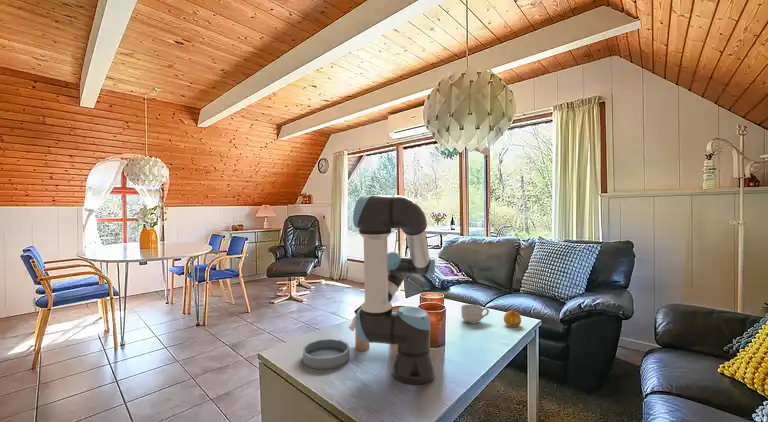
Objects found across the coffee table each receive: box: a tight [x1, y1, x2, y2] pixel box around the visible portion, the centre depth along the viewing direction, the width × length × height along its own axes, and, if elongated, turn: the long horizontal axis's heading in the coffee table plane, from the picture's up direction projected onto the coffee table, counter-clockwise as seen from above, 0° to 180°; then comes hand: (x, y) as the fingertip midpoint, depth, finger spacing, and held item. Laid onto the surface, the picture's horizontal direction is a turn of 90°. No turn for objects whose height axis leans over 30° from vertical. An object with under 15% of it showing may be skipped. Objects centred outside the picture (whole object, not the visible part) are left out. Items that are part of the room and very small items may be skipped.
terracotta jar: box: [354, 319, 370, 352], centre depth 148 cm, size 7×7×12 cm
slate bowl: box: [302, 338, 351, 370], centre depth 138 cm, size 18×18×4 cm
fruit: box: [503, 309, 522, 327], centre depth 176 cm, size 8×8×8 cm
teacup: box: [460, 304, 490, 323], centre depth 181 cm, size 14×11×8 cm
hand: (360, 333), depth 147 cm, fingers open, 13 cm apart
